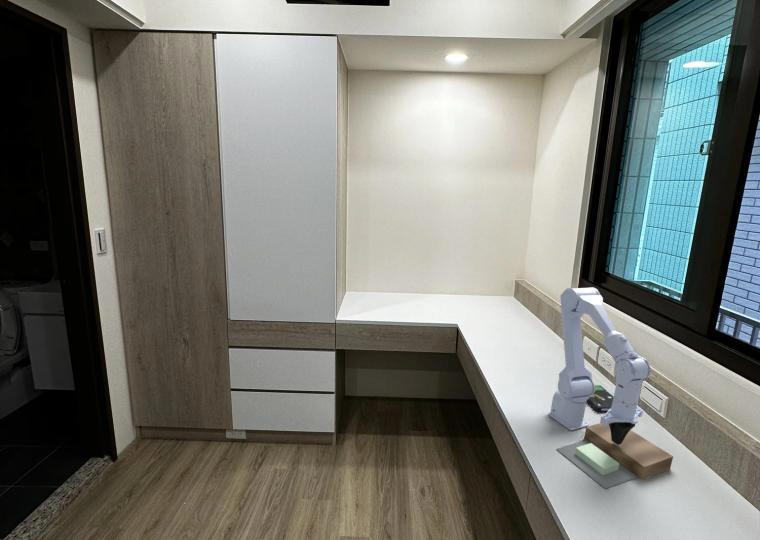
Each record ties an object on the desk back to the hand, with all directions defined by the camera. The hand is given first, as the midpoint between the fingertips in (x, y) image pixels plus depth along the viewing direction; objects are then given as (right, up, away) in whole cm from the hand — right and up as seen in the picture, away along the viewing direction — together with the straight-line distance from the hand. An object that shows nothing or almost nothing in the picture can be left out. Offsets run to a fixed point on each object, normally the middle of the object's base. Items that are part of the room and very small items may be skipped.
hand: (616, 442), depth 114 cm
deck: (+4, -4, +3) cm, 7 cm away
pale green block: (-7, -3, -2) cm, 7 cm away
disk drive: (+11, +1, +31) cm, 33 cm away
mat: (-7, -5, -2) cm, 9 cm away
